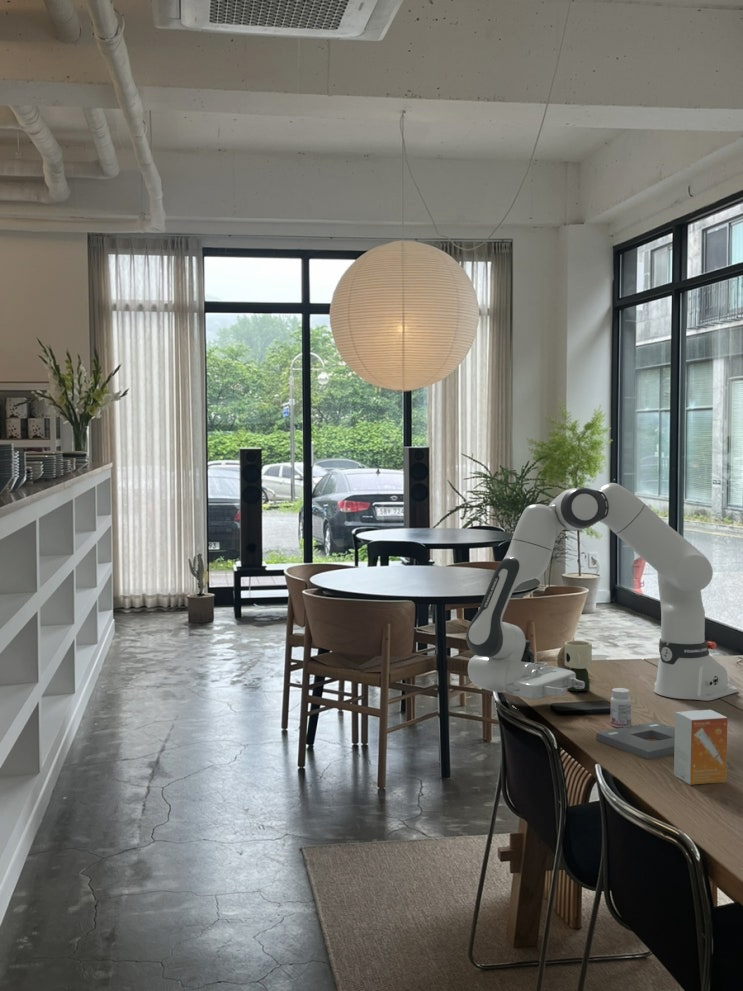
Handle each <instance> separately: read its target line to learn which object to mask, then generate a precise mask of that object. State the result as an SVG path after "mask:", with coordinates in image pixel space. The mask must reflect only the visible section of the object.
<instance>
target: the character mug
mask: <svg viewBox="0 0 743 991" xmlns="http://www.w3.org/2000/svg"><path fill="white" fill-rule="evenodd" d="M564 644H565V666H567V667H570V669H569V670H571V671H573V672H574V673H575V674H576V679H577V680H579V681H584V683H585V687H584V688H583V689H576V688H575V687H570V688H567V689H566V690H568V691H570V692H571V691H572V692H577V693H580V691H590V690H591V687H590V679H589V678H590V677H589V671H588V669H589V668H591V667H592V664H593V662H592V660H593V659H592V658H593V654H592V653H593V644H592V642H589V641H586V640H568V641H565V642H564Z"/></svg>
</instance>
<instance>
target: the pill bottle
mask: <svg viewBox="0 0 743 991" xmlns="http://www.w3.org/2000/svg"><path fill="white" fill-rule="evenodd" d="M630 695H631V693H630V690H629V689H628V688H624V687H615V688H612V690H611V696H612V697H611V698H610V702H609V703H610V710H609V712H610V720H609V721H610V725H611V726H612V727H615V728H622V727H629V726H632V699H631V698H630Z"/></svg>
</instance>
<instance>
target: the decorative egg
mask: <svg viewBox="0 0 743 991" xmlns="http://www.w3.org/2000/svg"><path fill="white" fill-rule="evenodd" d="M556 658H557V660H556V663H557V666H558V667H559V668H563V669H567V670H569V669H570V667H567V666H565V643H564V644H563V645H562V646H561V647H560V649H559V651H558V654H557V656H556Z"/></svg>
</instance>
